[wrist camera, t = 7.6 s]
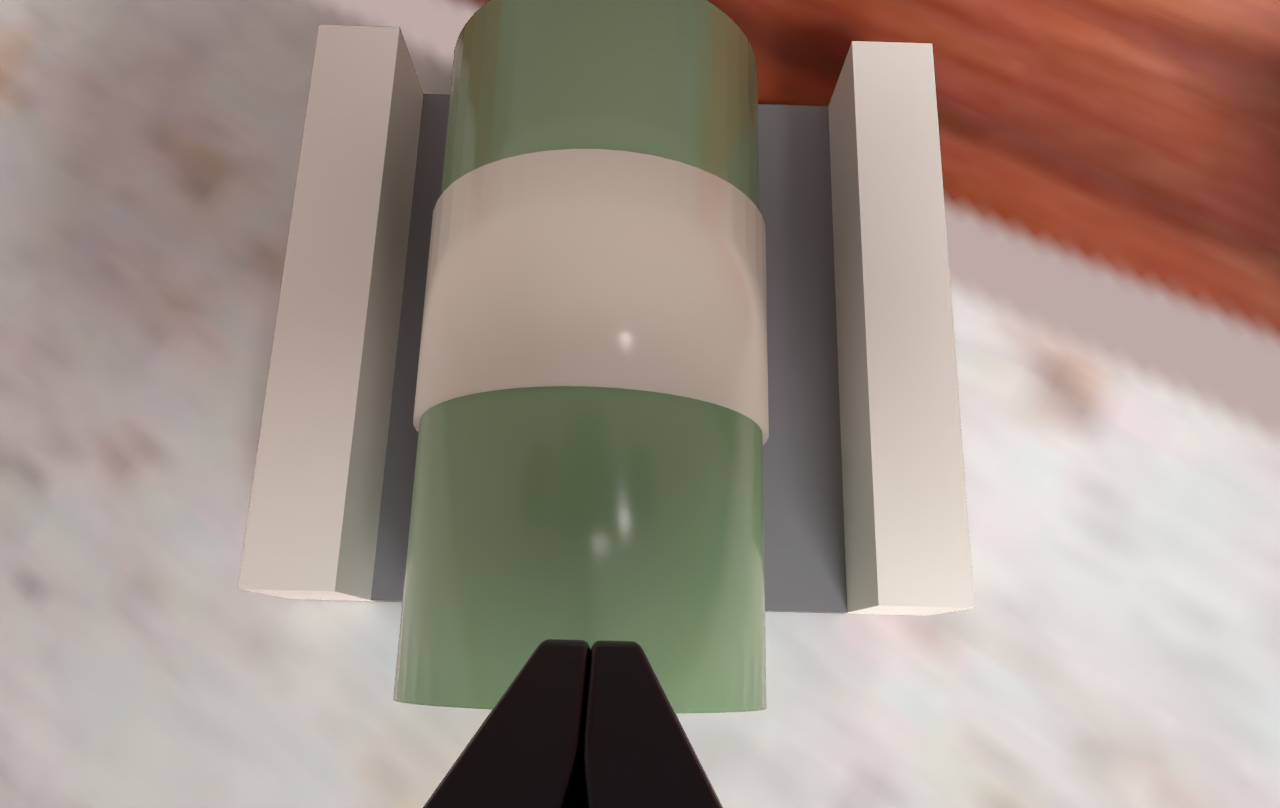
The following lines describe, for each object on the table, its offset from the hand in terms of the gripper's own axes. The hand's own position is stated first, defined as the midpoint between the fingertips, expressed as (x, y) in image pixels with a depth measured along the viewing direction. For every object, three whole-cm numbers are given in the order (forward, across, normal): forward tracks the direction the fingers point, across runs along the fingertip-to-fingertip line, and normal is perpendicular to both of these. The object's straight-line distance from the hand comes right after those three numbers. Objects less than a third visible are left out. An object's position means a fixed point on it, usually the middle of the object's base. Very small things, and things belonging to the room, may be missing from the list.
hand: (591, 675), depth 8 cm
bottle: (+4, 0, +5) cm, 6 cm away
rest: (+12, 0, +2) cm, 12 cm away
